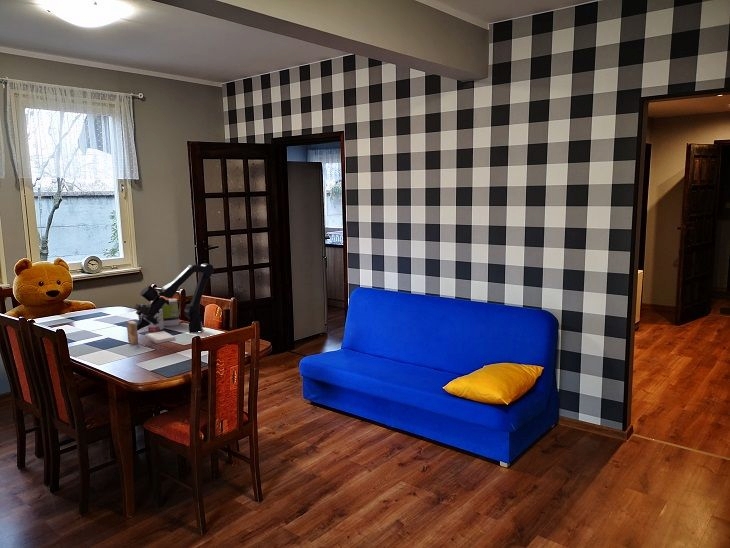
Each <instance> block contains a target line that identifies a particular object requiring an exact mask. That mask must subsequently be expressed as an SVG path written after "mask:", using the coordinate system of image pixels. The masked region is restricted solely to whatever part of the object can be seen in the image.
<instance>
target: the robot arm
mask: <svg viewBox="0 0 730 548" xmlns="http://www.w3.org/2000/svg"><path fill="white" fill-rule="evenodd" d="M214 271H215V268H214V266H213V265H212V264H211V263H207V262H206V263H205V262H204V263H202V264H188V266H187V267H186V268H185V269H184V270H183V271H181V273H179V274H178V275H177V276H176V277H175V278H174V279H173V281H171V282H169V283H167V284H166V285H163V286H162V287H161V288H160V289H155V288H153V287H152V286H151V285H149V284H148V285H147V286H146V287H144V288H143V289H141V291H140V293H139V295H140V296H141V297H142V298H143V299H145V300H146V301H148V302H150V303H151V301H153V302H152V303H151V304H150V303H149V304H144V303H142V304H141V303H135V306H134V310H135V311H136V312H135V314H136V315H137V316H138V321H137V332H138V331H140V330H141V329H144V328H145V327H148V325H150V322H151V323H153V324H154V325H156V324H157V323H158V321H157V319H155V318H154V316H155V315H156V314H157V313H159V310H160V309H161V308H162V307H163V305H164V304H167V305H169V300H168V299H173V297H175V296H174V295H176V293H177V291H178V290H179V288H180V287H181V285H182V284H184V283H185V282H186V280H188V279H189V278H190V277H191V276H192V275H193V274H194V273H198V280H197V284H196V286H195V288H194V293H193V295H192V298H191V301H190V303H189V304H188V303H187V304H185V307H184V310H183V312H184V313H183V315H184V317H186V319H188V320H189V323H188V331H189V332H188V333H189V334H192V333H191V332H198V331H202V330H203V331H204V328H203V321H204V317H203V316H202V315H200V310H201V309H200V303H201V301H202V298H203V295H204V291H205V289H206V286H207V282H208V280H209V279H210V278H211V277H212V275H213V273H214ZM166 299H167V300H166ZM203 331H202V332H203Z"/></svg>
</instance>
